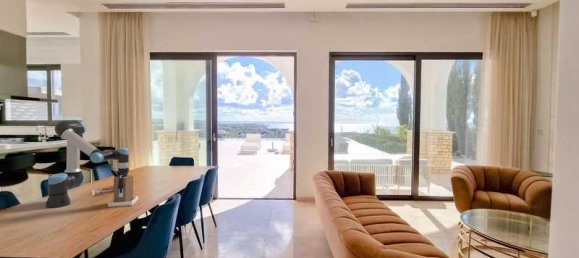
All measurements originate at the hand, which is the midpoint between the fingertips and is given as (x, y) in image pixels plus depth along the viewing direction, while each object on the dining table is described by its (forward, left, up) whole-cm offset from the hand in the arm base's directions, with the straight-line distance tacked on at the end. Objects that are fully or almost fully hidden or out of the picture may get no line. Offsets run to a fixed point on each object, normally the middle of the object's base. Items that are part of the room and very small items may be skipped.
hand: (123, 194), depth 242 cm
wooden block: (0, 0, -5) cm, 5 cm away
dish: (0, 0, -7) cm, 7 cm away
